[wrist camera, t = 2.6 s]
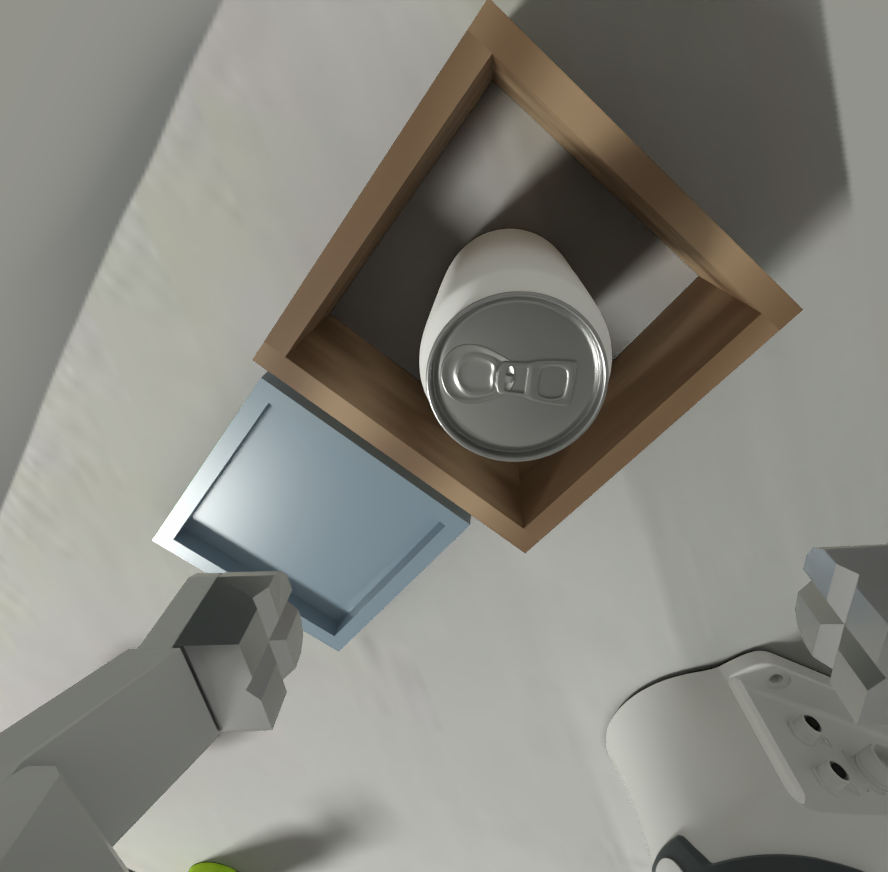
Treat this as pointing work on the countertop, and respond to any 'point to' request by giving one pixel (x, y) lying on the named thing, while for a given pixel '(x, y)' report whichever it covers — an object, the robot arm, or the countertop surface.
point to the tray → (310, 512)
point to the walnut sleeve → (632, 373)
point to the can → (514, 349)
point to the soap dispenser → (210, 868)
